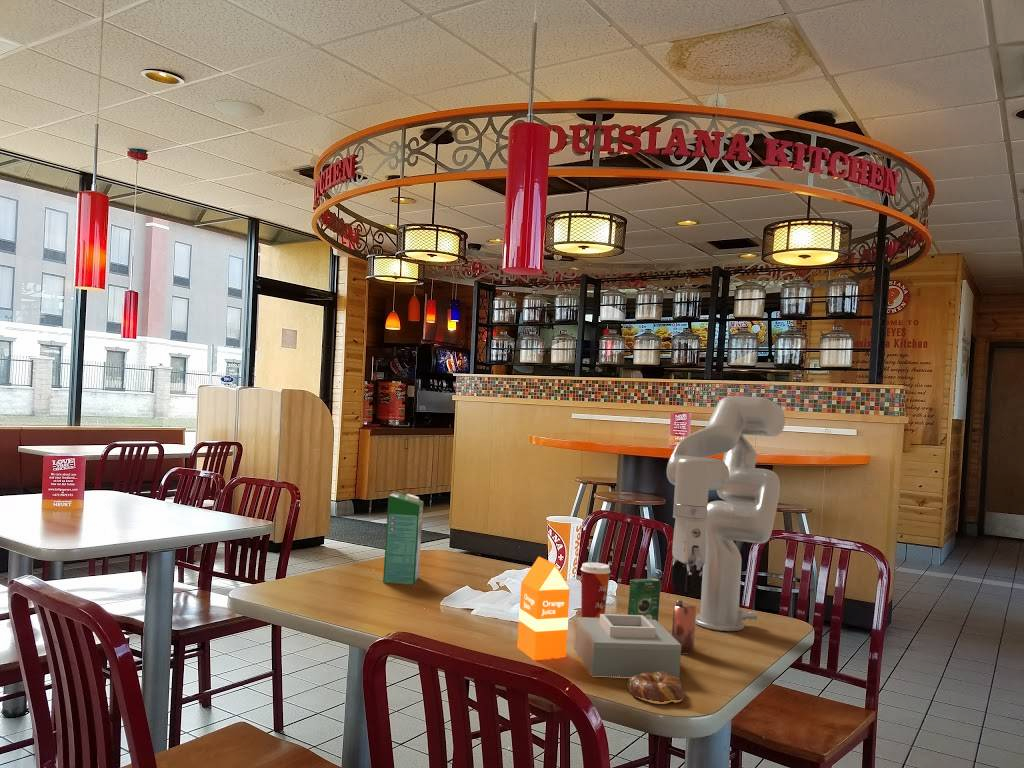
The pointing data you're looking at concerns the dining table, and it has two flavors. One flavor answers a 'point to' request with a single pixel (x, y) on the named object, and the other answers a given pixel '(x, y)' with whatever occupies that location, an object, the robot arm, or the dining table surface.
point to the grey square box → (626, 646)
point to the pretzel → (656, 686)
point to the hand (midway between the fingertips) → (685, 588)
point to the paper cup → (594, 589)
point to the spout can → (684, 625)
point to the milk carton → (403, 539)
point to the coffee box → (644, 598)
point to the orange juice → (543, 612)
